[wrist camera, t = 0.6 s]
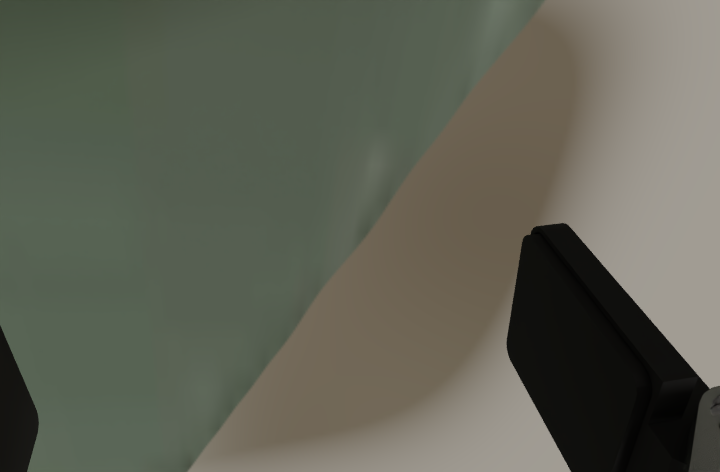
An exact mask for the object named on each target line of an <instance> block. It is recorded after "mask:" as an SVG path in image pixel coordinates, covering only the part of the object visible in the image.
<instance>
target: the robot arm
mask: <svg viewBox="0 0 720 472" xmlns="http://www.w3.org/2000/svg"><path fill="white" fill-rule="evenodd" d="M507 351H508V355H509V358H510V360H511V362H512V364H513V366H514V368H515V369H516V371H517V373H518V375H519V377H520V379H521V381H522V382H523V384H524V386H525V388H526V390H527V392H528V393H529V395H530V397H531V399H532V401H533V403H534V404H535V406H536V408H537V410H538V412H539V413H540V415H541V417H542V419H543V421H544V423H545V425H546V426H547V428H548V430H549V432H550V434H551V435H552V437H553V439H554V441H555V443H556V445H557V447H558V448H559V450H560V452H561V454H562V456H563V458H564V459H565V461H566V463H567V465H568V467H569V469H570V470H571V472H720V386H717V387H713V388H711V389H709V387H708V386H707V385H706V384H705V383H704V382H703V381H702V379H701V378H700V377H699V376H698V375H697V374H696V372H695V371H694V370H693V369H692V368H691V367H690V365H689V364H688V363H687V362H686V361H685V360H684V359H683V357H682V356H681V355H680V354H679V353H678V352H677V350H676V349H675V348H674V347H673V346H672V345H671V343H670V342H669V341H668V340H667V339H666V338H665V336H664V335H663V334H662V333H661V332H660V331H659V330H658V328H657V327H656V326H655V325H654V324H653V323H652V321H651V320H650V319H649V318H648V317H647V316H646V314H645V313H644V312H643V311H642V310H641V309H640V307H639V306H638V305H637V304H636V303H635V302H634V301H633V299H632V298H631V297H630V296H629V295H628V294H627V293H626V292H625V290H624V289H623V288H622V287H621V286H620V285H619V283H618V282H617V281H616V280H615V279H614V278H613V276H612V275H611V274H610V273H609V272H608V271H607V269H606V268H605V267H604V266H603V265H602V264H601V262H600V261H599V260H598V259H597V258H596V257H595V256H594V255H593V253H592V252H591V251H590V250H589V249H588V248H587V246H586V245H585V244H584V243H583V242H582V240H581V239H580V238H579V237H578V236H577V235H576V233H575V232H574V231H573V230H572V229H571V228H570V227H569V226H568V225H567V224H564V223H561V224H552V225H544V226H536V227H534V228H533V230H532V231H531V235H526V236H525V237H524V238H523V242H522V247H521V254H520V260H519V267H518V273H517V279H516V285H515V292H514V298H513V304H512V311H511V317H510V323H509V330H508V336H507ZM38 425H39V422H38V413H37V410H36V408H35V405H34V403H33V401H32V398H31V396H30V394H29V391H28V389H27V387H26V384H25V382H24V380H23V377H22V375H21V373H20V371H19V368H18V366H17V364H16V361H15V359H14V357H13V354H12V352H11V350H10V347H9V345H8V343H7V340H6V338H5V336H4V333H3V331H2V329H1V326H0V472H27V469H28V466H29V462H30V458H31V455H32V451H33V448H34V444H35V440H36V437H37V433H38Z"/></svg>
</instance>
